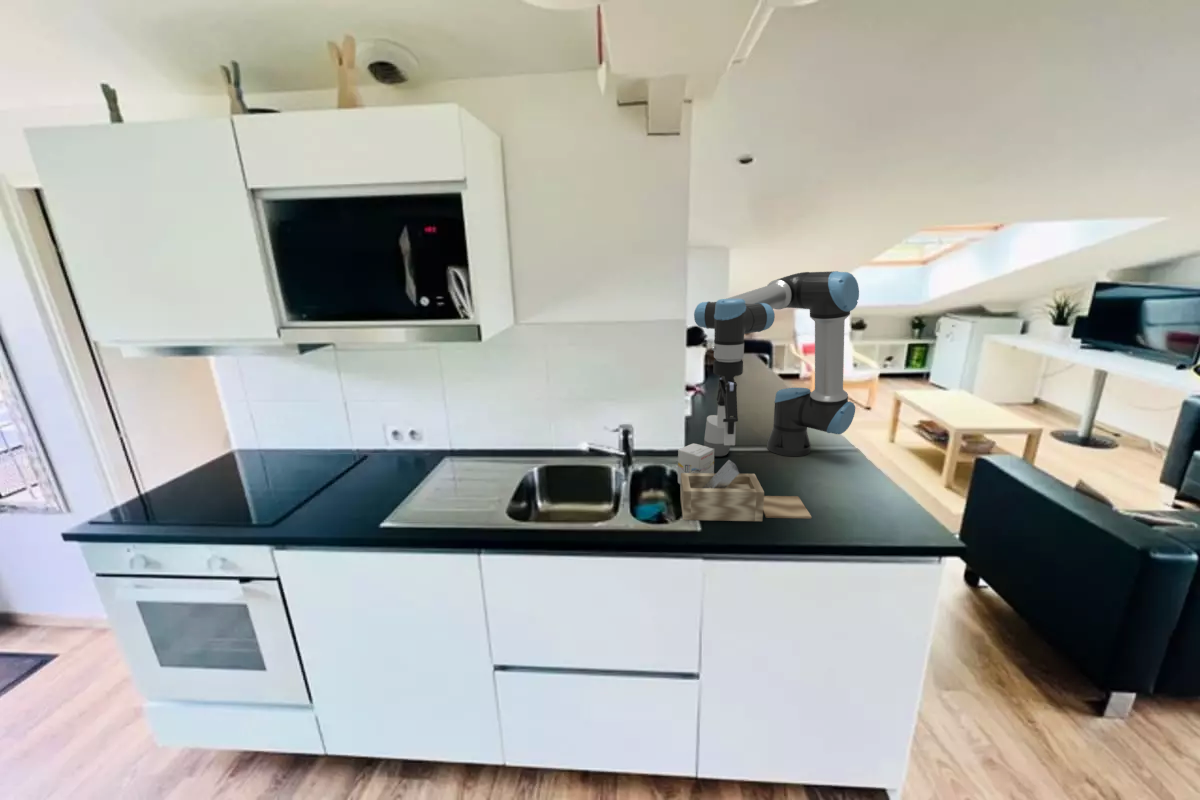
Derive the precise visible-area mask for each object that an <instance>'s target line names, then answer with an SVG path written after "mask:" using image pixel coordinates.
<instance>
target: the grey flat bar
mask: <svg viewBox="0 0 1200 800" xmlns="http://www.w3.org/2000/svg"><path fill="white" fill-rule="evenodd" d="M738 474H740V472H739V469H738V467H737V465H736V463H734V461H732V460H730V459H728V460H727V461H726V462H725V463H724V464H723V465H722V466H721V467H720V469H718V471H717V472H716V474H715V475H714V476H713V477H712V479H711V480H710V481H709V482H708V483H707V484H706V485H705V486H704V487H703V488H720V489H725V488H726V487H727V486H728V485H729V484H730V483H731V482H732V480H733V479H734V478H735V477H736V476H737V475H738Z"/></svg>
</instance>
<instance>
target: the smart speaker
mask: <svg viewBox="0 0 1200 800" xmlns="http://www.w3.org/2000/svg"><path fill="white" fill-rule="evenodd" d="M717 416H718V414H710V415H708V416H707V417H706V423H705V432H704V439H703V446H706V447H709V448H713V449H714V458H721V457H724V456H727V454H729V452H730V449H731V445H724V428H717Z"/></svg>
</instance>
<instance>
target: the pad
mask: <svg viewBox="0 0 1200 800" xmlns="http://www.w3.org/2000/svg"><path fill="white" fill-rule="evenodd" d="M763 516H765V519H766V518H767V519H768V518H769V519H772V518H773V519H812V515H811V513H810V512H809V510H808V509H807V508H806V506H805V504H804V502H803V501H802V500H801V498H800V496H797V495H791V496H788V495H764V504H763Z"/></svg>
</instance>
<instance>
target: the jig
mask: <svg viewBox="0 0 1200 800" xmlns="http://www.w3.org/2000/svg"><path fill="white" fill-rule="evenodd" d="M716 473H717V472H716ZM716 473H715V472H714V473H681V484H680V506H681V514H682V520H683V521H722V522H724V521H726V522H727V521H728V522H729V521H730V522H731V521H732V522H763V518H764V512H763V504H764V496H765V491H764V489H763V487H762V486H761V483H760V480H758V479H759V478H757V475H756V474H755V473H739V474H738V475H737V476H736V477H735V478H734V479H733V480H732V482H731V483H730V484H729V485H728V486H727V487H726V488H725V489H720V488H703V487H704V486H705V485H706V484H707V483H708V482H709V481H710V480H711V479H712V477H713V476H714V475H715V474H716Z"/></svg>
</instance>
